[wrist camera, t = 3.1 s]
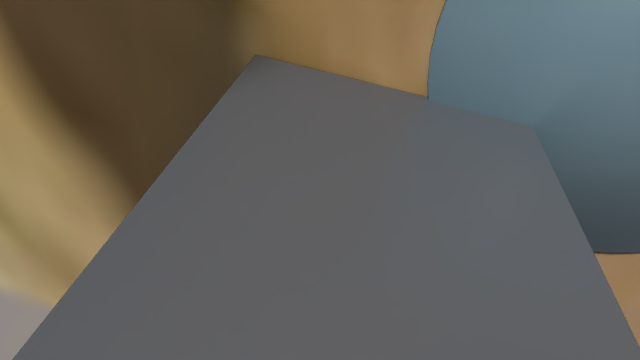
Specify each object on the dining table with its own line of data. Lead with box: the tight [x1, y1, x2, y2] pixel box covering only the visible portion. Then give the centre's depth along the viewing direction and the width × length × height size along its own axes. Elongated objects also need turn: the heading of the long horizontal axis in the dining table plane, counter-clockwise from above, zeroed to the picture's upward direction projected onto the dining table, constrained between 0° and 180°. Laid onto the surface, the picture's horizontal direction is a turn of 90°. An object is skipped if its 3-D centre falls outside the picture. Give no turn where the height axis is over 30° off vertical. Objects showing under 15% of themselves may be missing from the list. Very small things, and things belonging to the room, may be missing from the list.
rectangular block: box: [12, 55, 640, 360], centre depth 10 cm, size 7×9×9 cm
